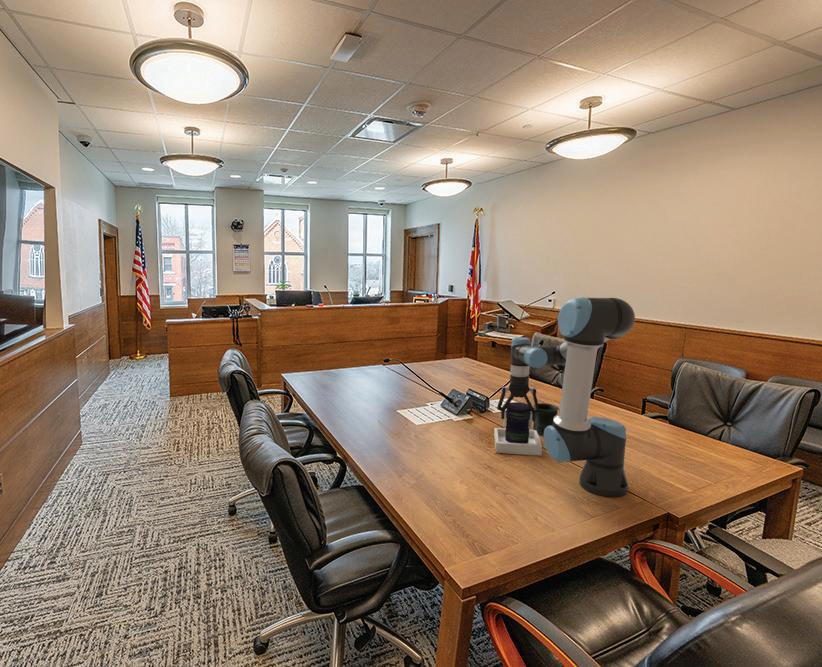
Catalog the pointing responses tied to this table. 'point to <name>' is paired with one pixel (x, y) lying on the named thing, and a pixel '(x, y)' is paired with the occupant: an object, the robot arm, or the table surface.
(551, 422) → the mug
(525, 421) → the dark blue canister
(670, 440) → the table surface
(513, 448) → the tray
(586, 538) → the table surface
